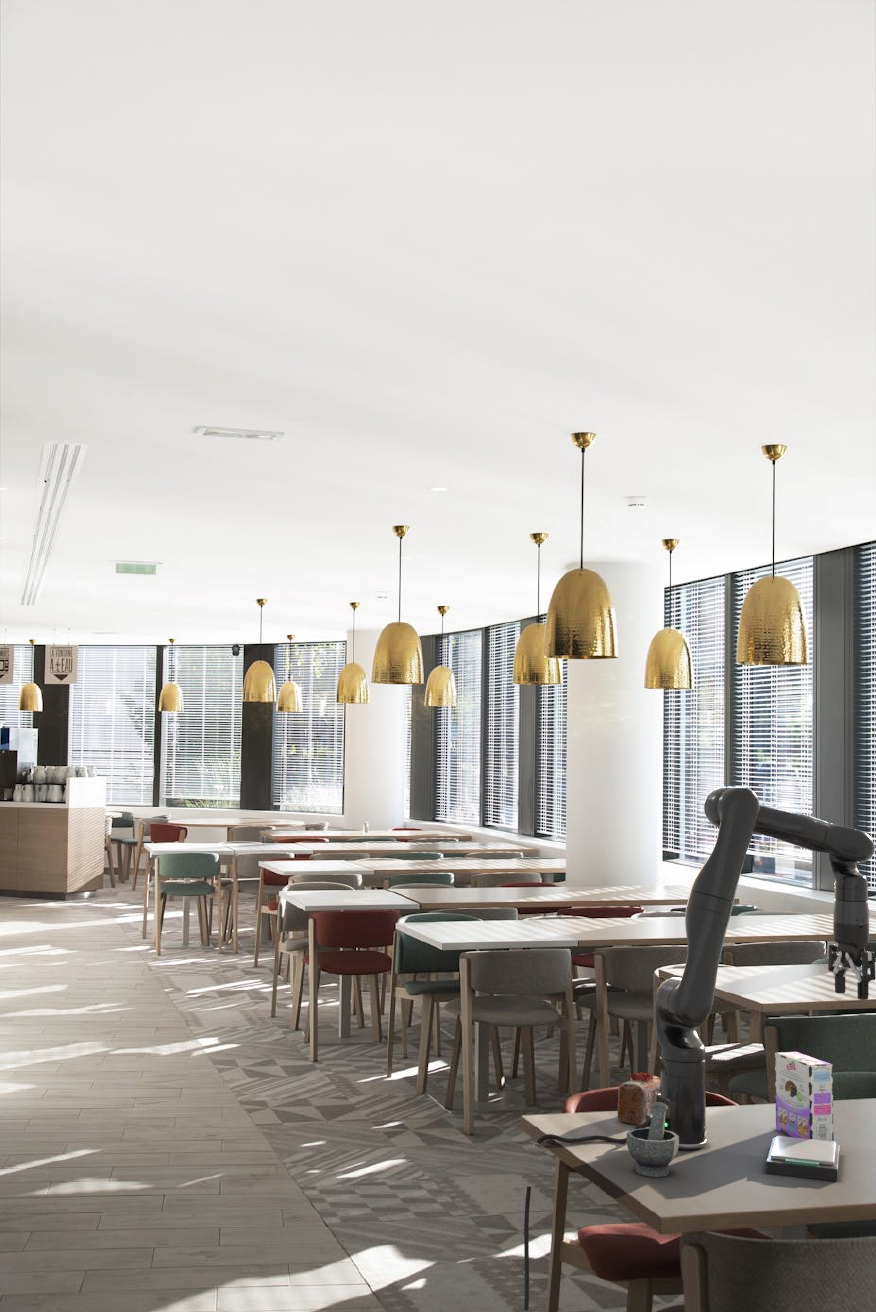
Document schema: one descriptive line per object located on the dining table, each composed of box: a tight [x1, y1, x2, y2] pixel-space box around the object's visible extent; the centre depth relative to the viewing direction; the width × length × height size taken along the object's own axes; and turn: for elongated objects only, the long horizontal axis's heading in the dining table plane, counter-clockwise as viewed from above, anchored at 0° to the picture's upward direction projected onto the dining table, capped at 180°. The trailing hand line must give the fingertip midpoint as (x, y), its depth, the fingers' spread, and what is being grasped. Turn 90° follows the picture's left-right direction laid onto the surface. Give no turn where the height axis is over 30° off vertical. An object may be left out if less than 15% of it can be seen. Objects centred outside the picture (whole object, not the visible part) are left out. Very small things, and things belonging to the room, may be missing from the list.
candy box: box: [774, 1051, 835, 1142], centre depth 268 cm, size 14×6×16 cm, turn 17°
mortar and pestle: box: [626, 1102, 679, 1178], centre depth 242 cm, size 11×9×12 cm
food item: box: [617, 1072, 660, 1126], centre depth 281 cm, size 14×8×10 cm, turn 149°
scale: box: [765, 1135, 841, 1182], centre depth 247 cm, size 18×13×3 cm
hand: (851, 996), depth 276 cm, fingers open, 8 cm apart
